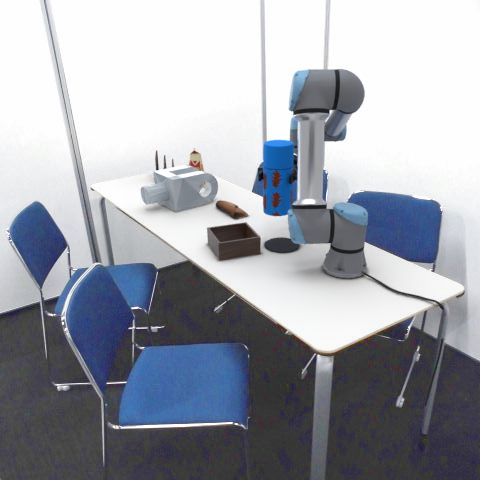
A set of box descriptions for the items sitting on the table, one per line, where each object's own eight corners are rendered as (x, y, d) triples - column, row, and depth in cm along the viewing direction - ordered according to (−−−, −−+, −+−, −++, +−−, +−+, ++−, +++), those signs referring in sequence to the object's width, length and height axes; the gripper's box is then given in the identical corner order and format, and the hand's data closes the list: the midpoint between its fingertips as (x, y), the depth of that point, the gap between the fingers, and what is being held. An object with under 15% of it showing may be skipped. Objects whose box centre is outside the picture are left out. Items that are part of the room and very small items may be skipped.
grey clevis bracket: (198, 191, 247) (196, 162, 239) (218, 201, 234) (217, 170, 226) (138, 206, 230) (133, 175, 222) (156, 216, 217) (152, 184, 209)
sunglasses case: (250, 214, 216) (243, 203, 211) (238, 224, 215) (232, 214, 210) (230, 203, 229) (223, 193, 224) (219, 213, 228) (213, 203, 224)
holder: (260, 254, 181) (260, 237, 177) (219, 260, 177) (218, 243, 173) (246, 238, 194) (246, 222, 191) (207, 243, 190) (206, 227, 186)
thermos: (289, 217, 174) (292, 147, 160) (261, 215, 176) (261, 146, 162) (292, 207, 183) (295, 139, 169) (265, 205, 185) (266, 139, 171)
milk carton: (204, 187, 254) (202, 148, 243) (187, 187, 254) (184, 149, 243) (206, 182, 262) (203, 144, 251) (189, 182, 262) (186, 145, 251)
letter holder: (157, 182, 263) (154, 156, 255) (158, 172, 279) (155, 148, 271) (174, 181, 263) (172, 155, 256) (174, 172, 280) (172, 147, 272)
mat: (305, 249, 183) (305, 248, 183) (272, 255, 180) (272, 253, 180) (291, 236, 195) (291, 235, 194) (259, 241, 191) (259, 240, 191)
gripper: (319, 175, 184) (305, 192, 167) (263, 170, 192) (244, 186, 174) (321, 155, 180) (306, 171, 163) (263, 151, 187) (244, 165, 170)
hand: (274, 178), depth 169 cm, fingers closed on thermos, 11 cm apart
